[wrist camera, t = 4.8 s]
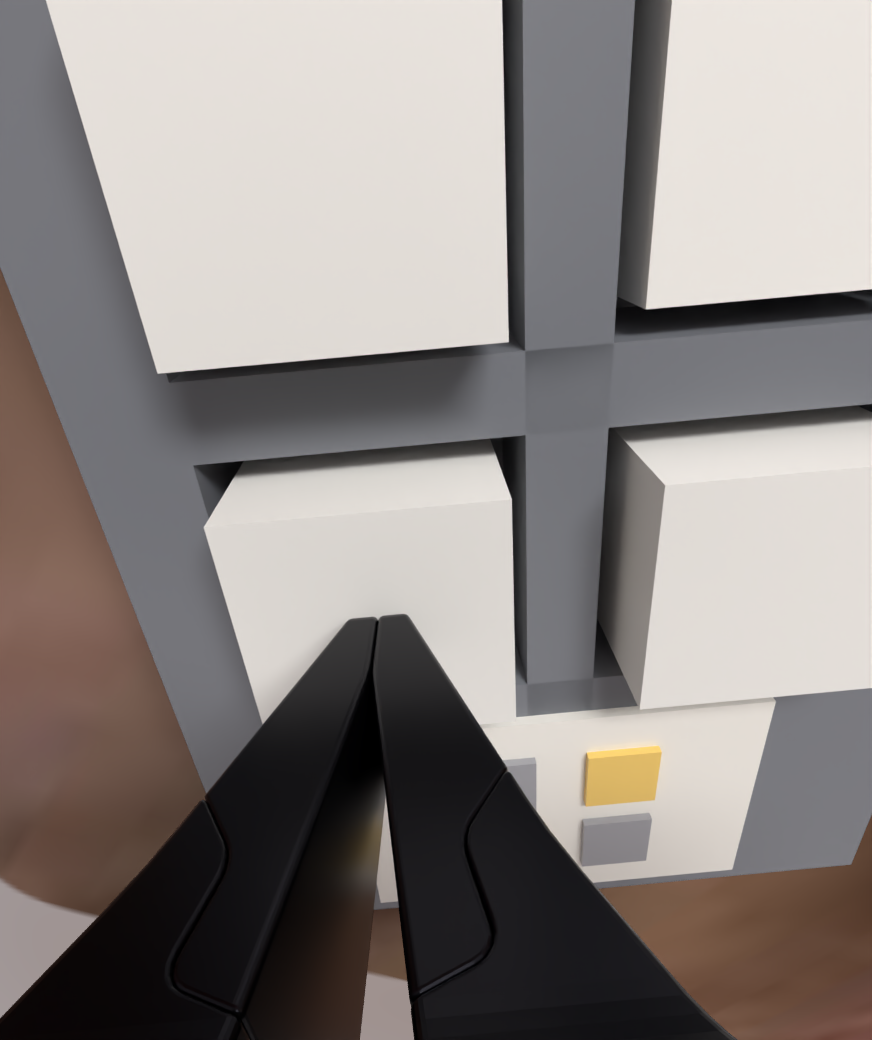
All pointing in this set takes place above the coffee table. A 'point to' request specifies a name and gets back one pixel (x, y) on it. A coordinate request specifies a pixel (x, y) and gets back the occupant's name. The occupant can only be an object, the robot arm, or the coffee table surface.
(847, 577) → the button
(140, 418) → the panel
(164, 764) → the coffee table surface
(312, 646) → the button
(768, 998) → the coffee table surface
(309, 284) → the button
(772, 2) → the button
